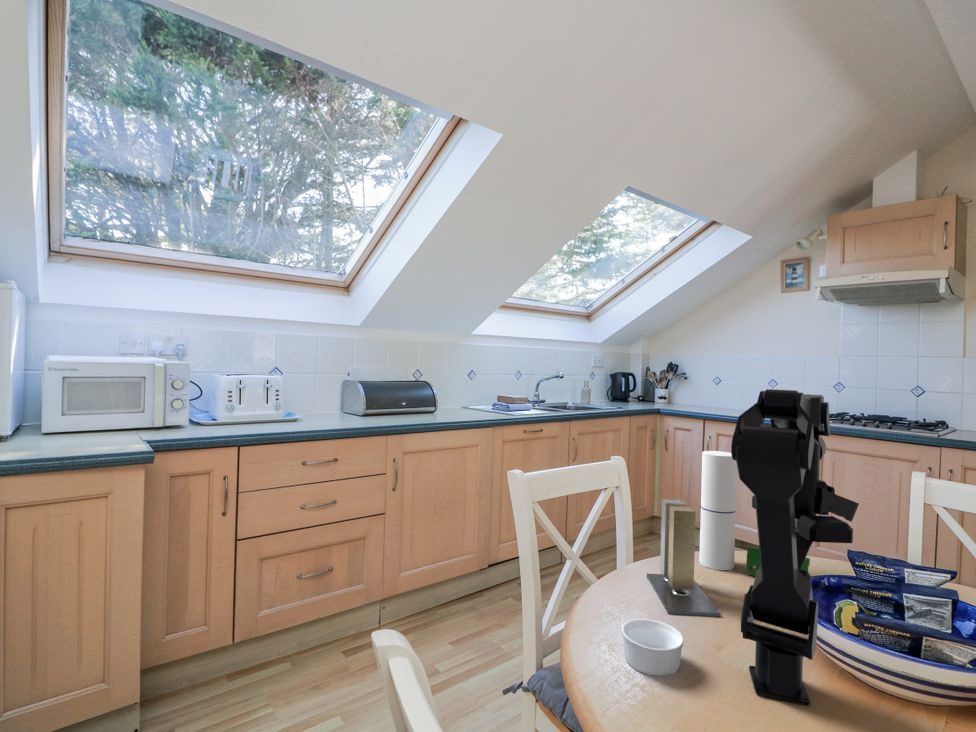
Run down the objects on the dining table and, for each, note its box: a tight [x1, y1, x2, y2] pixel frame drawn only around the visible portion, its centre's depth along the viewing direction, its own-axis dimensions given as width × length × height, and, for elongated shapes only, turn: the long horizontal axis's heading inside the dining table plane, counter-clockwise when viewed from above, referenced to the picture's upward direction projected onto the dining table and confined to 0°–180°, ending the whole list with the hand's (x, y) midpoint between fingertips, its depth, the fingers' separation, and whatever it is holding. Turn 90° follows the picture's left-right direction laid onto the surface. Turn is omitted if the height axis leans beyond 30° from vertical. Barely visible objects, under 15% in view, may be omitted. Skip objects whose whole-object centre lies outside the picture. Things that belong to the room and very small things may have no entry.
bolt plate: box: [646, 498, 721, 618], centre depth 100 cm, size 16×9×17 cm, turn 176°
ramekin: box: [621, 618, 685, 677], centre depth 77 cm, size 9×9×4 cm
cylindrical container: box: [698, 450, 738, 571], centre depth 116 cm, size 7×7×25 cm
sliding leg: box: [668, 506, 697, 591], centre depth 100 cm, size 3×4×16 cm
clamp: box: [745, 546, 811, 577], centre depth 110 cm, size 12×6×9 cm, turn 47°
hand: (795, 568), depth 84 cm, fingers closed
